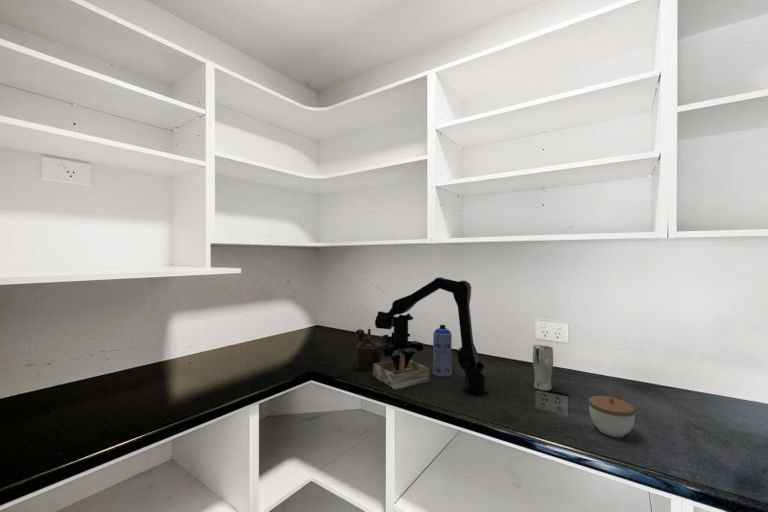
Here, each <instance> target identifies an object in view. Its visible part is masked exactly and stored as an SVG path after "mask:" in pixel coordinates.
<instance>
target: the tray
mask: <svg viewBox="0 0 768 512" xmlns="http://www.w3.org/2000/svg"><path fill="white" fill-rule="evenodd" d="M373 376H374V377H373ZM372 377H373V378H375V377H376V378H375V379H377V380H378V379H379V381H380V382H381V383H383V382H384V385H386V384H387V385H386V386H388V387H390V388H391V387H392V388H391V389H393V390H394V389H395V390H399V388H400V389H404V388H407V387H412V386H417V385H420V384H425V383H429V382H430V368H429V367H426V366H425V365H422V364H420V363H418V362H415V361H413V360H411V359H410V361H409V363H408V365H407V367H406V369H405V373H402V374H397V371H396V369H395V366H394V363H393V360H392V359H391V360H387V361H380V363H375V364H373V370H372Z"/></svg>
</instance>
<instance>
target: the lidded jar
mask: <svg viewBox="0 0 768 512" xmlns="http://www.w3.org/2000/svg"><path fill="white" fill-rule="evenodd" d="M588 410H589V415H590V416H589V417H590V419H591V421H592V422H593V424H594V425H595V426H596V428H597V429H598V431H599V432H601V434H604V435H606V436H609V437H614V438H623V437H625V435H627V434H629V433H630V432H631V431H632V429H633V428H634V425H635V421H636V420H635V418H636V407H635V406H634V405H633V404H631V403H630V402H628V401H625V400H624V399H623V400H622V399H619V398H617V397H613V396H605V395H594V396H591V397H589V398H588Z"/></svg>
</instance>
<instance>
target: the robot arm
mask: <svg viewBox="0 0 768 512" xmlns="http://www.w3.org/2000/svg"><path fill="white" fill-rule="evenodd" d="M438 290H444V291H446V292H449V293H452V296H453V299H454V301H455V303H456V306H457V313H458V320H459V321H458V322H459V323H458V324H459V330H460V331H459V332H460V333H459V334H460V339H461V341H460V342H461V347H459V349H458V350H456V354H457V357H458V360H457V363H458V364H459V366H460V369H462V370H463V371H464V374H465V376H464V388H461V389H462V391H463V392H466V393H468V394H470V395H472V396H474V397H477V396H481V395H485V394H487V393H488V390H486V388H485V387H486V385H485V383H486V382H485V381H486V379H485V377H486V376H485V375H484V374H483V373H484V371H485V368H486V366H485V365H484V364H483V362H482V361H480V358H479V354H478V351H477V349H476V346H475V344H474V343H475V342H474V336H473V335H474V334H473V327H472V317H471V308H470V307H471V306H470V303H471V298H472V285H471V284H470V282H468V281H467V280H459V281H458V280H452V279H448V278H444V277H436V278H435V279H433V280H432V281H431V282H429V283H428V284H426V285H424V286H422V287H420V288H419V289H417V290H416V291H415V292H412V293H411V294H409V295H406V296H403V297H401V298H398V299H395V300H393V302H392V304H391V308H390V309H389V311H388V312H385V311H378V312H377V315H376V316H375V320H374V326H375V328H376V329H382V330H391V329H392V328H393V332H391V335H390V336H389V335H388V334H383V335H382V339H381V341H382V343H383V344H384V345H380V346H379V347H378V349H377V353H378V354H380V355H381V357H382V356H383V357H390V358H391V361H392V360H393V363H394V366H395V369H396V371H398V369H399V362H400V355H399V354H400V353H399V352H401V354H405V369H406V367H407V365H408V363H409V361H410V360H411V359H412V357H413V356H414V355H415V354H416V352H415V351H414V349H415V350H416V351H417V352H421V351H424V344H423V343H422V342H420V341H417V340H411V341H409V337H411V333H409V321H412V320H414V317H413V316H412V315H411V314H410V313H408V312H409V311H410V310H411V309H412V308H413V307H414V306H415V305H416V304H418V302H420V301H422V300H423V299H425V298H426V297H428V296H430V295H432V294H433V293H435V292H436V291H438ZM404 313H407V314H404ZM397 315H398V316H397Z"/></svg>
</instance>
